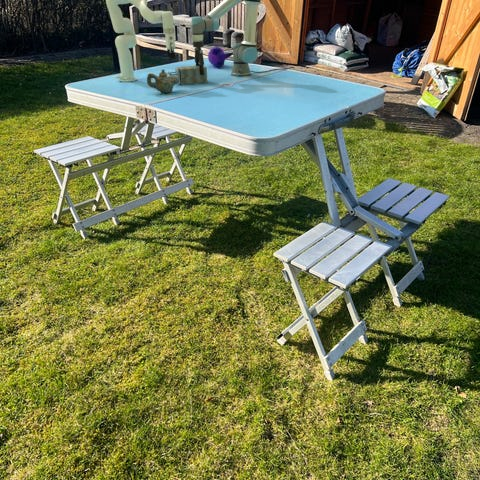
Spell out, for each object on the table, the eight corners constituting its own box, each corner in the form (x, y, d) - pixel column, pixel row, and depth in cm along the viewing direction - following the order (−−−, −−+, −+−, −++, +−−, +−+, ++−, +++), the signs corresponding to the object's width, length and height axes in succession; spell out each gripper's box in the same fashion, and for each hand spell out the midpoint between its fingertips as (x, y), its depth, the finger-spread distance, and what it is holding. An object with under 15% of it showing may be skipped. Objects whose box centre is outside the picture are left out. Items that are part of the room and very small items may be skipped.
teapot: (178, 89, 310) (176, 66, 303) (181, 93, 301) (179, 69, 293) (147, 92, 305) (144, 69, 297) (149, 95, 295) (147, 71, 288)
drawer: (170, 84, 321) (169, 71, 317) (168, 82, 329) (167, 69, 324) (203, 81, 328) (202, 68, 323) (199, 79, 336) (199, 66, 331)
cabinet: (181, 85, 324) (180, 69, 318) (178, 82, 332) (177, 67, 327) (207, 83, 329) (206, 67, 323) (203, 80, 337) (202, 65, 332)
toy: (218, 69, 373) (208, 68, 396) (237, 62, 376) (226, 61, 399) (212, 50, 365) (203, 50, 388) (232, 42, 368) (221, 43, 392)
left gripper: (176, 32, 303) (179, 59, 312) (171, 29, 317) (173, 55, 326) (165, 32, 301) (168, 59, 310) (161, 30, 315) (163, 56, 324)
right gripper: (207, 42, 309) (209, 76, 321) (199, 39, 328) (200, 70, 339) (196, 43, 307) (199, 76, 319) (189, 39, 326) (191, 71, 337)
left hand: (171, 57), depth 318 cm, fingers open, 9 cm apart
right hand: (200, 73), depth 329 cm, fingers closed on cabinet, 10 cm apart
